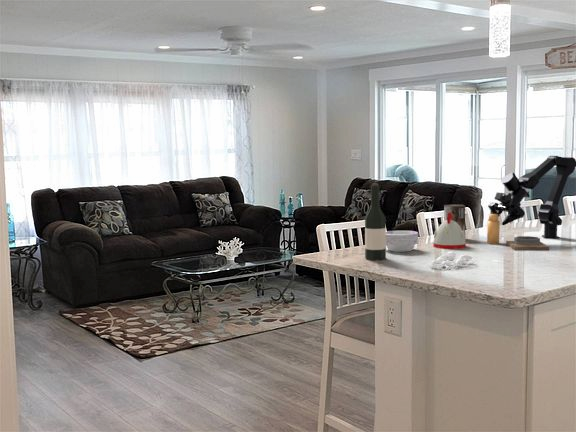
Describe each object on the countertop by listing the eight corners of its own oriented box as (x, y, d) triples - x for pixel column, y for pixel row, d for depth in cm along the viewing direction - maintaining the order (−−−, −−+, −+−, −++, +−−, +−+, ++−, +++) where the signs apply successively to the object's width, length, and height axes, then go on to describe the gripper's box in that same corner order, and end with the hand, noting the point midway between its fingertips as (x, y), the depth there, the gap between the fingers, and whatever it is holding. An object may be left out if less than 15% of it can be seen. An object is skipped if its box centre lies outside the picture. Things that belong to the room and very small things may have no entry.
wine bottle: (387, 257, 272) (387, 183, 269) (383, 260, 264) (383, 184, 261) (367, 256, 275) (367, 183, 271) (362, 259, 267) (362, 184, 263)
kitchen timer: (430, 248, 293) (430, 214, 291) (436, 243, 305) (436, 210, 304) (463, 249, 287) (463, 214, 286) (467, 244, 300) (468, 211, 298)
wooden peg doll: (486, 242, 306) (486, 213, 304) (497, 242, 305) (498, 213, 304) (488, 244, 301) (488, 215, 299) (500, 244, 300) (500, 215, 299)
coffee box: (463, 238, 319) (463, 204, 318) (465, 240, 313) (465, 205, 311) (443, 238, 320) (443, 204, 318) (445, 240, 314) (445, 205, 312)
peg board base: (506, 244, 299) (506, 235, 299) (538, 244, 298) (539, 235, 297) (514, 250, 283) (514, 240, 283) (548, 250, 282) (548, 240, 281)
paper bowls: (383, 247, 297) (383, 229, 296) (418, 247, 294) (418, 229, 293) (381, 253, 282) (381, 234, 281) (418, 253, 279) (418, 234, 278)
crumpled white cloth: (453, 276, 240) (453, 265, 239) (418, 268, 250) (419, 257, 249) (480, 266, 253) (481, 256, 253) (446, 259, 263) (447, 248, 262)
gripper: (491, 185, 311) (472, 209, 308) (520, 187, 294) (500, 213, 291) (504, 201, 315) (485, 225, 312) (533, 204, 298) (513, 230, 295)
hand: (495, 223), depth 303 cm, fingers open, 9 cm apart
